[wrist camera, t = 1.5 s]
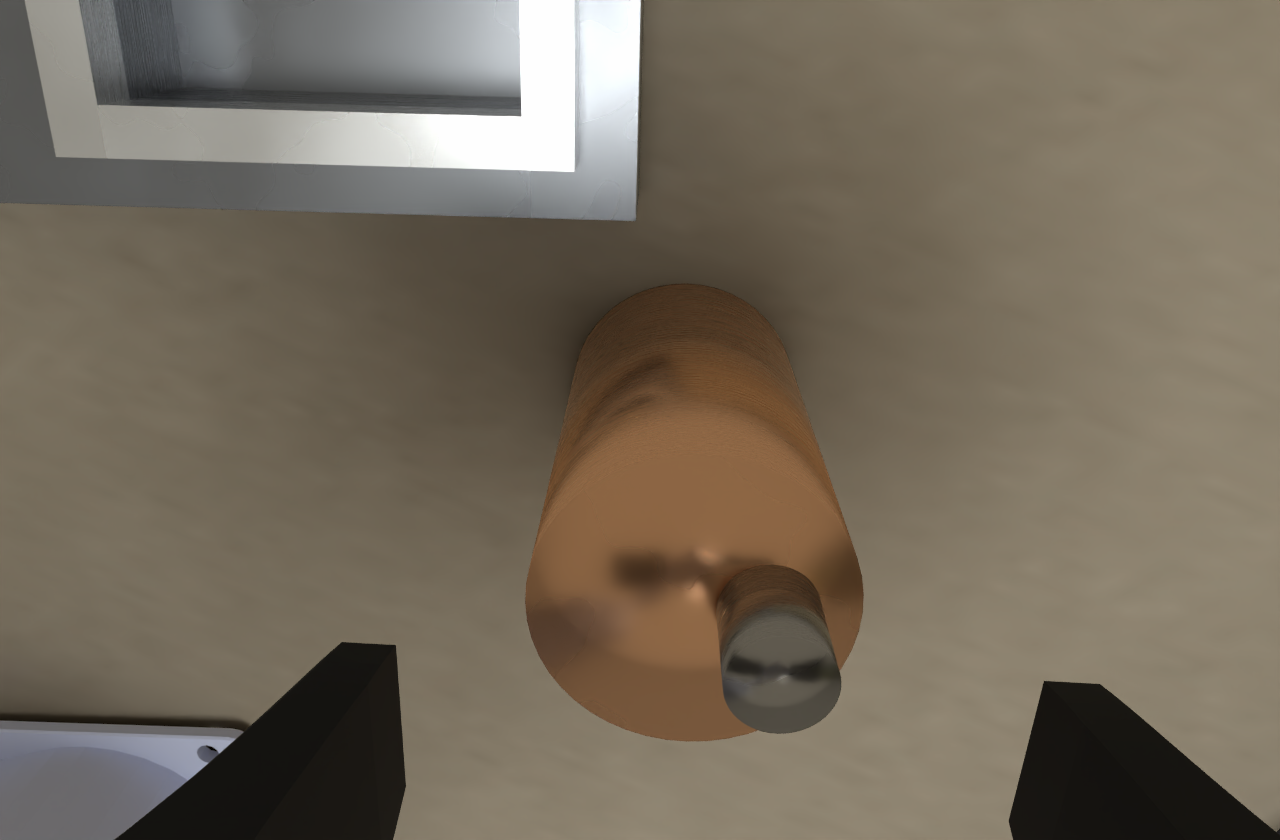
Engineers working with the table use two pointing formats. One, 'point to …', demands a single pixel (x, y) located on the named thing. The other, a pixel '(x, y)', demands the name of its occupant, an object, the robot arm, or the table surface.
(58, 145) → the grey peg holder base
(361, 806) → the robot arm
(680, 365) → the copper cylinder
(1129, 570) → the table surface
